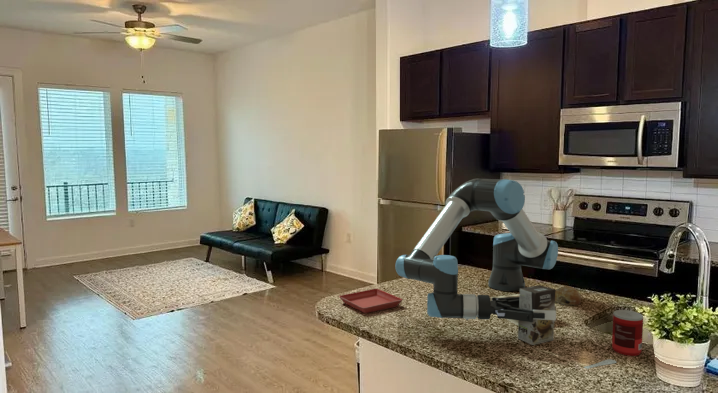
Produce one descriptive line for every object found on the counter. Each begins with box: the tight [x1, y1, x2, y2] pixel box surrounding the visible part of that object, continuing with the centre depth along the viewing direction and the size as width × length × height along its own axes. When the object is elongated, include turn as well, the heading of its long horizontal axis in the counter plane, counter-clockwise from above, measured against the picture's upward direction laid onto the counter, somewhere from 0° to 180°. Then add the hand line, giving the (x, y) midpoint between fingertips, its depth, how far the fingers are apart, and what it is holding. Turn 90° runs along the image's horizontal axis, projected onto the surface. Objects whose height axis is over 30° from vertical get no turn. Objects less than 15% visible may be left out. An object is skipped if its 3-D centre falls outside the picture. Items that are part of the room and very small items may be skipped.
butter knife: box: [583, 358, 617, 370], centre depth 132 cm, size 1×24×3 cm
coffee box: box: [517, 284, 556, 346], centre depth 151 cm, size 9×6×16 cm
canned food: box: [611, 309, 644, 357], centre depth 143 cm, size 8×8×11 cm
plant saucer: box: [338, 288, 404, 314], centre depth 187 cm, size 18×18×3 cm
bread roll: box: [555, 285, 582, 306], centre depth 190 cm, size 10×10×8 cm
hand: (551, 309), depth 151 cm, fingers closed on coffee box, 10 cm apart
